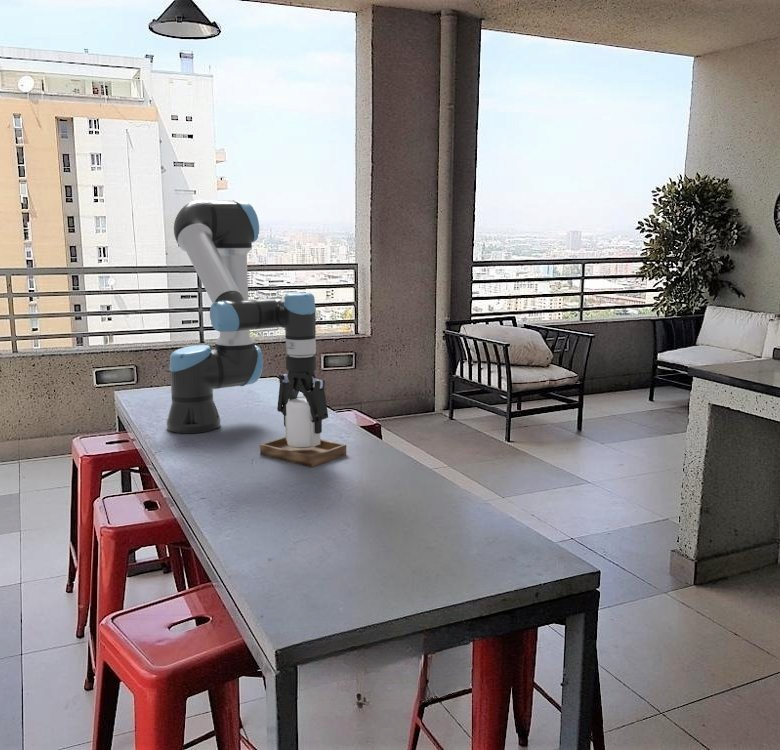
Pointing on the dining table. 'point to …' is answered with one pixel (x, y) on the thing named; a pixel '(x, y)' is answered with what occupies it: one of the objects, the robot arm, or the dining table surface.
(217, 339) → the robot arm
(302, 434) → the beverage can
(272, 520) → the dining table surface
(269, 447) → the walnut tray
